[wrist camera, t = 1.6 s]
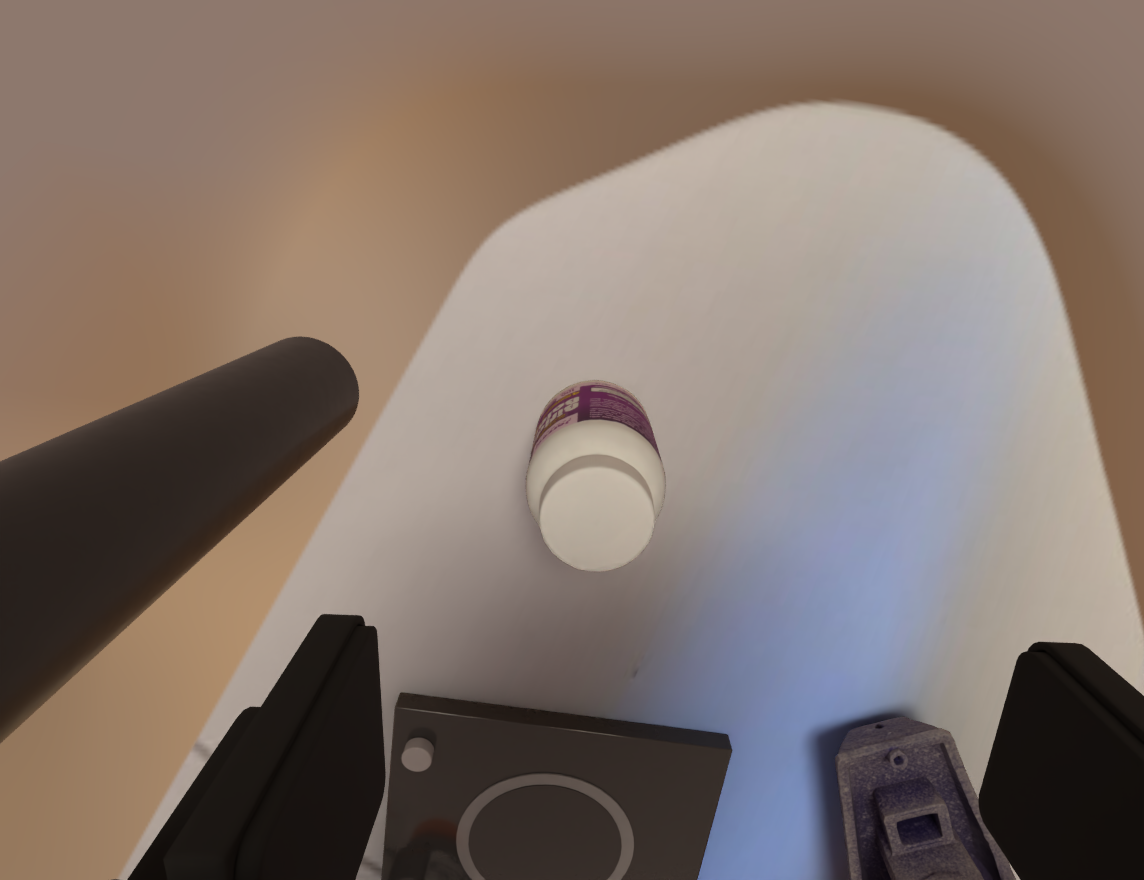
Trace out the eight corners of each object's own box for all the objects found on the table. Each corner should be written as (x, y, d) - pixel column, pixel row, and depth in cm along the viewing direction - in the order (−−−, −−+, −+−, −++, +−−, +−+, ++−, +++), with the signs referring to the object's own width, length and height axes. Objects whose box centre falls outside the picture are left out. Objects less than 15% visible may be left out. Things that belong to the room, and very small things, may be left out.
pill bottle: (556, 362, 32) (546, 424, 22) (665, 397, 32) (699, 473, 23) (521, 467, 33) (499, 565, 24) (626, 500, 34) (643, 608, 25)
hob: (382, 908, 42) (373, 940, 40) (400, 691, 37) (390, 717, 35) (672, 942, 43) (677, 976, 41) (728, 734, 38) (735, 761, 36)
